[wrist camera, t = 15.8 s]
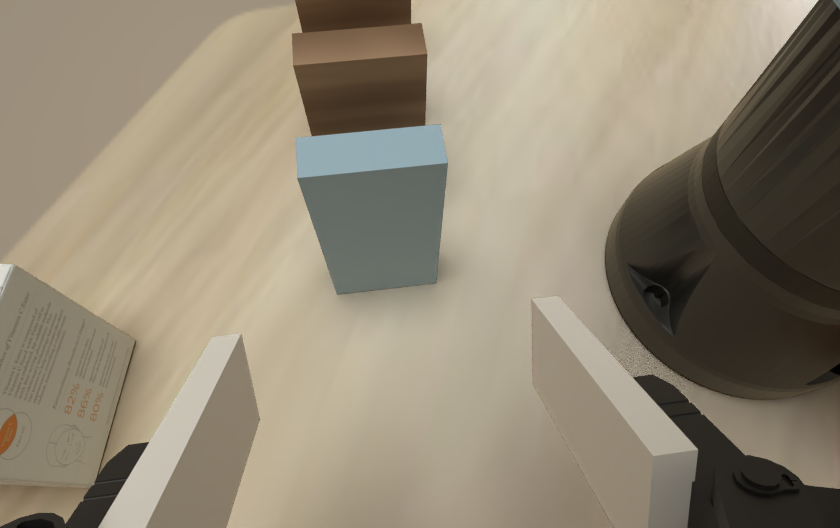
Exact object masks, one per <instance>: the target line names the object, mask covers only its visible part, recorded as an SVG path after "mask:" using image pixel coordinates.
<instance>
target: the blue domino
mask: <svg viewBox="0 0 840 528" xmlns="http://www.w3.org/2000/svg"><path fill="white" fill-rule="evenodd" d="M296 155H297V179H298V182H299V184H300V187H301V190H302V193H303V196H304V199H305V202H306V205H307V208H308V211H309V214H310V217H311V220H312V222H313V225H314V228H315V231H316V234H317V237H318V240H319V243H320V246H321V249H322V252H323V255H324V258H325V261H326V263H327V266H328V269H329V272H330V275H331V278H332V281H333V284H334V287H335V290H336V293H337V295H338V294H347V293H355V292H364V291H372V290H381V289H390V288H398V287H407V286H416V285H424V284H433V283H436V280H437V270H438V259H439V249H440V239H441V228H442V218H443V208H444V197H445V187H446V176H447V166H448V161H447V156H446V151H445V145H444V140H443V135H442V129H441V124H437V125H426V126H416V127H405V128H395V129H384V130H374V131H363V132H353V133H343V134H332V135H322V136H311V137H301V138H296Z"/></svg>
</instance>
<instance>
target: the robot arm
mask: <svg viewBox="0 0 840 528" xmlns="http://www.w3.org/2000/svg"><path fill="white" fill-rule="evenodd" d="M605 259H606V272H607V277H608V282H609V285H610V289H611V292H612V294H613V297H614V300H615V302H616V304H617V306H618V308H619V310H620V312H621V314H622V316H623V317H624V319H625V321H626V322H627V324H628V325H629V326H630V328H631V329H632V331H633V332H634V333H635V334H636V336H637V337H638V338H639V339H640V340H641V342H642V343H643V344H644V345H645V346H646V347H647V348H648V349H649V350H650V351H651V352H652V353H653V354H654V355H656V356H657V357H658V358H659V359H660V360H661V361H663V362H664V363H665V364H667V365H668V366H669V367H671V368H672V369H674V370H675V371H677V372H678V373H680V374H681V375H683V376H685V377H686V378H688V379H690V380H692V381H694V382H696V383H698V384H700V385H702V386H705V387H707V388H710V389H712V390H715V391H718V392H721V393H725V394H728V395H732V396H737V397H742V398H750V399H781V398H787V397H793V396H796V395H800V394H803V393H807V392H810V391H813V390H816V389H819V388H822V387H825V386H828V385H830V384H833V383H835V382H837V381H839V380H840V0H819V1H818V2H817V3H816V5H815V6H814V7H813V8H812V10H811V11H810V12H809V14H808V15H807V16H806V17H805V19H804V20H803V21H802V23H801V24H800V25H799V26H798V28H797V29H796V30H795V32H794V33H793V34H792V35H791V37H790V38H789V39H788V41H787V42H786V43H785V45H784V46H783V47H782V48H781V50H780V51H779V52H778V54H777V55H776V56H775V57H774V59H773V60H772V61H771V63H770V64H769V65H768V66H767V68H766V69H765V70H764V72H763V73H762V74H761V75H760V77H759V78H758V79H757V81H756V82H755V83H754V84H753V86H752V87H751V88H750V90H749V91H748V92H747V93H746V95H745V96H744V97H743V98H742V100H741V101H740V102H739V103H738V105H737V106H736V107H735V108H734V110H733V111H732V112H731V113H730V115H729V116H728V118H727V119H726V120H725V121H724V123H723V124H722V125H721V127H720V128H719V129H718V130H717V132H716V133H715V134H714V135H713V136H712V137H710V138H709V139H707V140H705V141H703V142H702V143H700V144H698V145H697V146H695V147H693V148H691V149H690V150H688V151H686V152H685V153H683V154H681V155H680V156H678V157H677V158H675V159H673V160H672V161H670V162H669V163H667V164H665V165H663V166H661V167H660V168H658V169H656V170H655V171H653V172H652V173H651V174H649V175H648V176H647V177H646V178H645V179H644V180H642V181H641V182H640V183H639V184H638V185H637V186H636V188H635V189H634V190H633V191H632V192H631V194H630V195H629V197H628V198H627V200H626V201H625V203H624V204H623V206H622V207H621V209H620V210H619V212H618V213H617V215H616V217H615V218H614V220H613V223H612V225H611V228H610V231H609V234H608V238H607V243H606V254H605ZM531 304H532V371H533V385H534V387H535V389H536V390H537V392H538V394H539V396H540V397H541V399H542V401H543V403H544V405H545V406H546V408H547V410H548V412H549V414H550V415H551V417H552V419H553V421H554V422H555V424H556V426H557V428H558V430H559V431H560V433H561V435H562V437H563V438H564V440H565V442H566V444H567V446H568V447H569V449H570V451H571V453H572V455H573V456H574V458H575V460H576V462H577V463H578V465H579V467H580V469H581V471H582V472H583V474H584V476H585V478H586V480H587V481H588V483H589V485H590V487H591V488H592V490H593V492H594V494H595V496H596V497H597V499H598V501H599V503H600V504H601V506H602V508H603V510H604V512H605V513H606V515H607V517H608V519H609V521H610V522H611V524H612V526H613V528H840V489H834V488H824V487H814V486H808V485H804V484H803V483H802V481H801V480H800V479H799V478H798V477H797V476H796V475H795V474H793V473H792V472H790V471H789V470H788V469H786V468H785V467H783V466H781V465H779V464H776V463H774V462H772V461H770V460H767V459H763V458H759V457H754V456H750V455H744V454H743V453H742V452H741V451H740V450H739V449H738V448H737V447H736V446H735V445H734V444H733V443H732V442H731V441H730V440H729V439H728V438H727V437H726V436H725V435H724V434H723V433H722V432H721V431H720V430H719V429H718V428H717V427H716V426H714V425H713V424H712V423H711V422H710V421H709V420H708V419H707V418H706V417H705V416H704V415H701V413H700V411H699V410H698V409H697V408H696V407H695V406H694V405H693V404H692V403H689V401H688V399H687V398H686V397H685V396H684V395H683V394H682V393H681V392H680V391H679V390H678V389H677V388H676V387H675V386H673V385H671V384H669V383H668V382H666V381H664V380H662V379H660V378H658V377H656V376H654V375H647V376H639V377H632V376H631V375H630V374H629V373H628V372H627V371H626V370H625V369H624V368H623V367H622V365H621V364H620V363H619V362H618V361H617V360H616V359H615V358H614V357H613V356H612V354H611V353H610V352H609V351H608V350H607V349H606V348H605V347H604V346H603V345H602V343H601V342H600V341H599V340H598V339H597V338H596V337H595V336H594V335H593V334H592V333H591V331H590V330H589V329H588V328H587V327H586V326H585V325H584V324H583V323H582V322H581V320H580V319H579V318H578V317H577V316H576V315H575V314H574V313H573V312H572V311H571V309H570V308H569V307H568V306H567V305H566V304H565V303H564V302H563V301H562V300H561V299H560V297H559V296H551V297H543V298H534V299H531ZM259 420H260V417H259V412H258V408H257V403H256V399H255V394H254V389H253V385H252V380H251V376H250V371H249V367H248V362H247V357H246V353H245V348H244V344H243V339H242V335H241V333H240V334H232V335H223V336H215V337H212V338H211V340H210V342H209V343H208V345H207V347H206V348H205V350H204V352H203V353H202V355H201V357H200V358H199V360H198V362H197V363H196V365H195V367H194V368H193V370H192V372H191V373H190V375H189V377H188V379H187V380H186V382H185V384H184V385H183V387H182V389H181V390H180V392H179V394H178V395H177V397H176V399H175V400H174V402H173V404H172V405H171V407H170V409H169V410H168V412H167V414H166V415H165V417H164V419H163V420H162V422H161V424H160V425H159V427H158V429H157V430H156V432H155V434H154V435H153V437H152V439H151V440H150V442H147V443H139V444H132V445H128V446H126V447H125V448H124V449H123V450H122V451H121V452H119V453H118V454H117V455H116V456H115V457H113V458H112V459H111V460H110V461H109V462H107V464H106V465H105V467H104V468H103V470H102V471H101V473H100V474H99V476H98V477H97V479H96V480H95V482H94V485H92V486H91V487H90V489H89V490H88V492H87V493H86V495H85V496H84V501H83V502H80V504H79V505H78V507H77V508H76V510H75V511H74V513H73V514H72V515H71V517H70V518H69V520H68V521H67V523H66V524H65V522H64V520H63V518H62V517H60V516H58V515H56V514H54V513H37V514H33V515H29V516H25V517H21V518H18V519H16V520H14V521H12V522H10V523H8V524H5V525H3V526H1V527H0V528H226V527H227V523H228V520H229V517H230V514H231V511H232V507H233V504H234V501H235V498H236V495H237V491H238V488H239V485H240V482H241V478H242V475H243V472H244V469H245V466H246V462H247V459H248V456H249V453H250V449H251V446H252V443H253V440H254V437H255V433H256V430H257V427H258V424H259Z"/></svg>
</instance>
